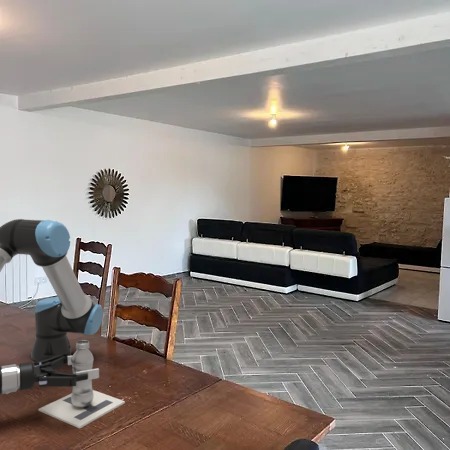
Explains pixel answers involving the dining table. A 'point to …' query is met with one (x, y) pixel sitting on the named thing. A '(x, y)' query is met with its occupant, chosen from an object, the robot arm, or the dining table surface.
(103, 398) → the letter board
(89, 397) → the plastic bottle
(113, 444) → the dining table surface
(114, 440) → the dining table surface
